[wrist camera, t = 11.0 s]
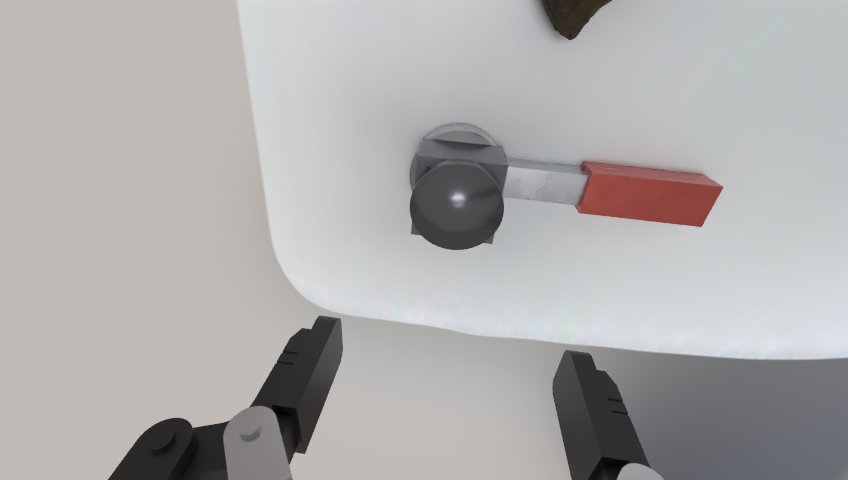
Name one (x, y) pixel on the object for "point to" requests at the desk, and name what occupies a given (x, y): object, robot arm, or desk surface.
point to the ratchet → (599, 185)
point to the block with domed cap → (458, 193)
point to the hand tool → (571, 14)
